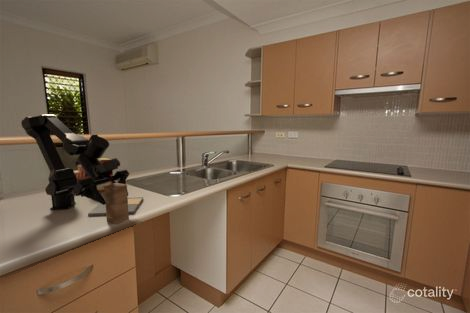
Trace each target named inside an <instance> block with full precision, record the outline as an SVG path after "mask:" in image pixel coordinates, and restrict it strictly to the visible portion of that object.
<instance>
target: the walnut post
mask: <svg viewBox="0 0 470 313" xmlns="http://www.w3.org/2000/svg"><path fill="white" fill-rule="evenodd" d="M127 191H128V185H127V183H126V184H121V183H113V184H111V185H107V186H104V191H103V192H104V199H105V202H106V215H105V216H106V223H110V224H114V225H119V224H122V223H123V222H125V221H127V220H129V218H130V216H129V215H130V214H129V212H128V198H129V195H128V196H127Z"/></svg>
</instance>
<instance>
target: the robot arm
mask: <svg viewBox="0 0 470 313" xmlns="http://www.w3.org/2000/svg"><path fill="white" fill-rule="evenodd" d="M21 127H22V128H23V130H24V132H25V133H26V134H27V136H29V137H30V138H32V139H34V140H35V141H36V144H37V146H38V147H39V151H40V152H41V154H42V157H43V159H44V161H45V163H46V165H47V167H48V169H49V176H48V182H49V183H48V184H47V186H46V187H45V189H44V190H45V193H46V195H48V196H51V205H52V207H50V208H49V209H50V210H51V211H52V210H68V209H70V208H71V207H73V206H75V205H76V204H77V202H76V200H75V197H80V196H81V197H82V198H83V197H85V198H88V199H90V200H93V201H95V202H97V203H99V204H100V203H101V204H103V205H105V204H106V202H105V200H104V199H105V197H103V195H102V194H101V192H99V191H98V190H97V185H101V184H105V183H108V182H113V184H114V183H121V184H127V182H126V181H127V179H128V177H129V176H130V172H129V171H128V170H127V169H121V170H118V168H119V167H120V166H121V162H120V161H119V159H118V158H117V157H115V158H112V159H111V160H110V161H106V162H103V163H101V162H100V161H99V160H98V159H100V158H101V157H102V158H103V156H104V154H105V153H106V151H107V150H108V148H109V147H110V143H109V141H108V140H107V139H105V138H103V137H101V136H99V135H98V134H91V135H90V137H89V139H87V138H86V137H84V136H82V135H80V134H76V133H74V132H73V131H72V130H71V129H70V128H69V127H68V126H67V125H65V123H63V122H62V121H61V120H60V119H59V116H57V115H55V114H40V115H36V116H25V117H24V118H23V119H21ZM51 133H52V134H53V135H55V137H57V139H58V140H59V141H61V142H62V148H63V150H64V151H65V152H66V153H67V154H68V155H69V156H78V155H79V156H78V157H76V161H75V166H78V165H81V166H82V168H83V169H84V170H85V172H86V174H85V176H86V177H88V176H89V177H90V178H86V179H82V180H79V181H78V180H77V178H76V175H75V174H74V171H75V170H74V169H73V168H72V167H70V168H68V167H67V166H65V164H64V162H63V160H62V158H61V155H60V154H59V152H58V149H57V147H56V145H55V143H54V140H53V138H52V136H51ZM114 170H117V171H116V172H115V173H114ZM112 173H113V176H110V174H112ZM77 181H78V182H77ZM127 196H128V197H129V191H128V190H127Z"/></svg>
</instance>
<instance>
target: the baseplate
mask: <svg viewBox="0 0 470 313" xmlns="http://www.w3.org/2000/svg"><path fill="white" fill-rule="evenodd" d="M104 200H105V198H104ZM143 200H144V197H128V212H129V215H132V214H133V215H134V214H135V213H136V211H137V210H138V208H139V206H140V205H141V204H142V202H143ZM87 216H88V217H94V216H95V217H96V216H98V217H99V216H106V204H105V205H103V204H101V203H99V204H97V205H96V206H95V207H94V208H93V209H91V210H90V211H89V212H88V214H87Z"/></svg>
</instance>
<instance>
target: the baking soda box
mask: <svg viewBox="0 0 470 313" xmlns="http://www.w3.org/2000/svg"><path fill="white" fill-rule="evenodd" d="M98 160H99V161H100V162H101V163H103V162H106V161H110V160H112V159H110V158H108V157H102V158H98ZM110 176H114V172H113V173H112V174H110ZM88 178H90V177H89V176H88ZM111 184H114V183H113V182H108V183H105V184H101V185H97V190H98V191H99V193H102V192H105V191H104V186H107V185H111Z"/></svg>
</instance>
